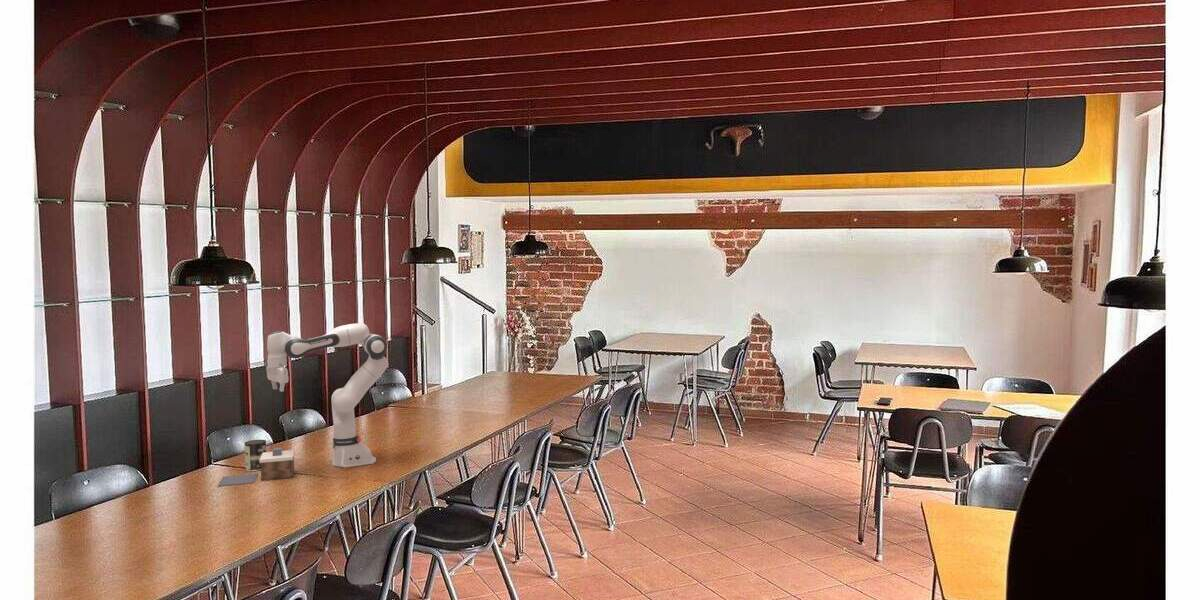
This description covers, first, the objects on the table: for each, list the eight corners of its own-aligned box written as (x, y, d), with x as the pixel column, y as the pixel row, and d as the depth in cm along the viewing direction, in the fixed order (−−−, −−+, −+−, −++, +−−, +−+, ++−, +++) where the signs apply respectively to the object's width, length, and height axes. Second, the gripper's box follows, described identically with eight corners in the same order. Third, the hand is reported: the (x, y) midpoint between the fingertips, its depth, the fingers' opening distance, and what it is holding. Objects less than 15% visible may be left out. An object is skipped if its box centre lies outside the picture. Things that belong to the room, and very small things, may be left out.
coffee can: (271, 466, 403) (270, 439, 402) (258, 471, 393) (257, 444, 392) (253, 465, 405) (252, 439, 404) (241, 470, 395) (239, 443, 394)
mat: (257, 474, 388) (257, 473, 388) (254, 483, 373) (254, 482, 373) (222, 477, 383) (222, 476, 383) (217, 486, 368) (217, 485, 368)
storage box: (294, 470, 394) (293, 453, 394) (292, 477, 381) (291, 459, 380) (264, 473, 390) (263, 455, 389) (261, 480, 377) (260, 462, 376)
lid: (294, 452, 394) (294, 444, 394) (292, 459, 380) (292, 450, 380) (262, 455, 390) (262, 446, 390) (259, 462, 376) (259, 453, 375)
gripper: (291, 364, 386) (292, 391, 386) (276, 360, 401) (277, 387, 401) (278, 365, 381) (279, 393, 382) (263, 362, 396) (264, 388, 397)
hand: (278, 390), depth 392 cm, fingers open, 8 cm apart
